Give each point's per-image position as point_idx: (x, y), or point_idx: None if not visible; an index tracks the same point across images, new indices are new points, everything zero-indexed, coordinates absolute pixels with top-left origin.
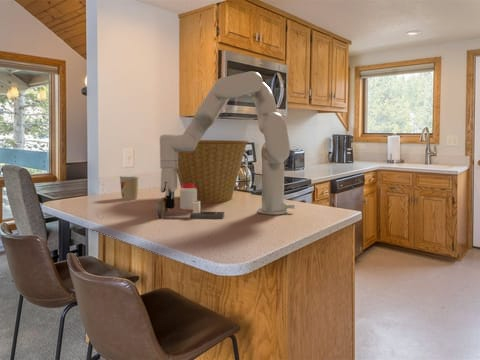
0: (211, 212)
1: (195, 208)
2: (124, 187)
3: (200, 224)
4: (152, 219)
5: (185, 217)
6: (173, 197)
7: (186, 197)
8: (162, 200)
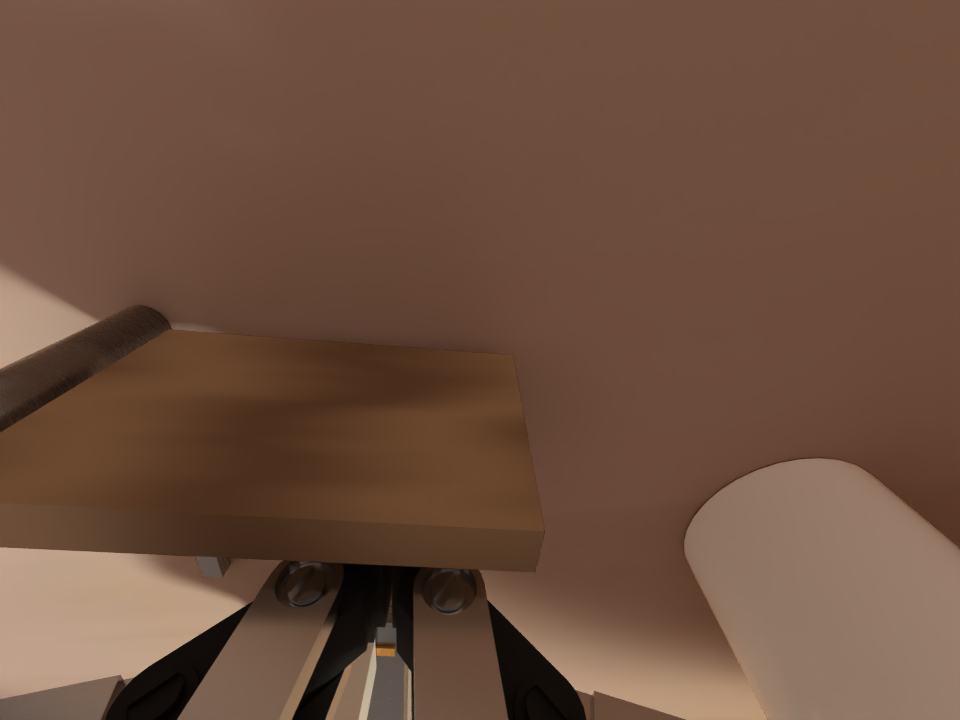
0: (370, 712)
1: None
2: None
3: (72, 644)
4: (49, 239)
5: (211, 567)
6: (409, 666)
7: (779, 676)
8: (22, 537)
